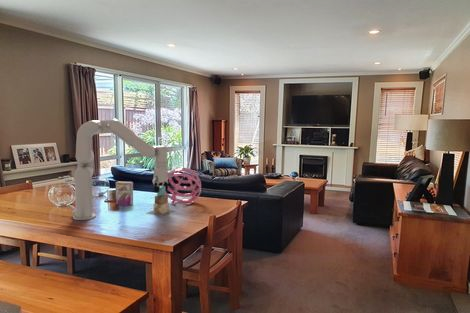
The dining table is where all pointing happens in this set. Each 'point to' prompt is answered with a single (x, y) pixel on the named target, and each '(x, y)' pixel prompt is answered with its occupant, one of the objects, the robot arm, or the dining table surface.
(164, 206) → the tower base
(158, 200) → the tower top
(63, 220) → the dining table surface
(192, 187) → the pink openwork sphere
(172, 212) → the felt mat
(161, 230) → the dining table surface
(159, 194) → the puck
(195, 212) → the dining table surface
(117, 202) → the candy bar box
